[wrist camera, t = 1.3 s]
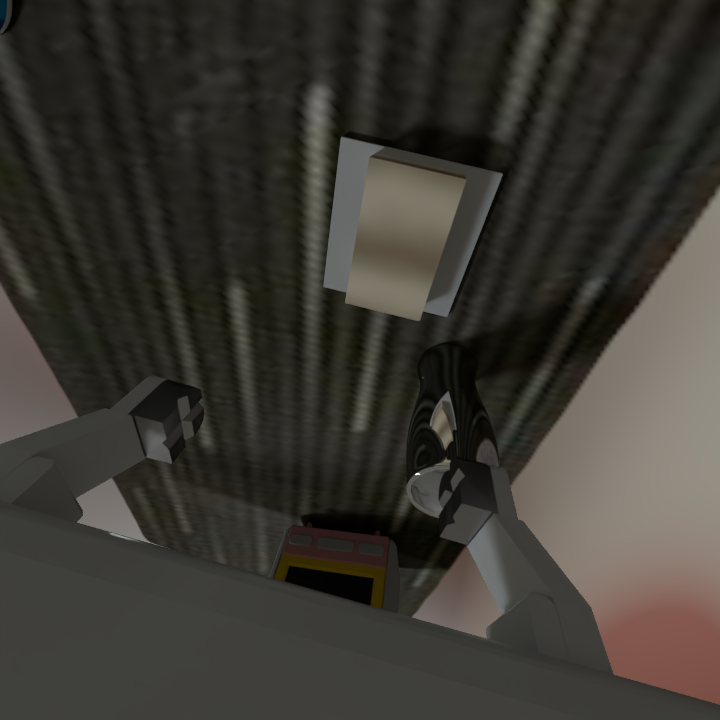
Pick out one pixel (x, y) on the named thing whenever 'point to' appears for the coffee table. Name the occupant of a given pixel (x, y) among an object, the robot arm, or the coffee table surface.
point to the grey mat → (460, 236)
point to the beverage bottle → (5, 14)
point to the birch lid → (401, 234)
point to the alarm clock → (341, 564)
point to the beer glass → (445, 424)
